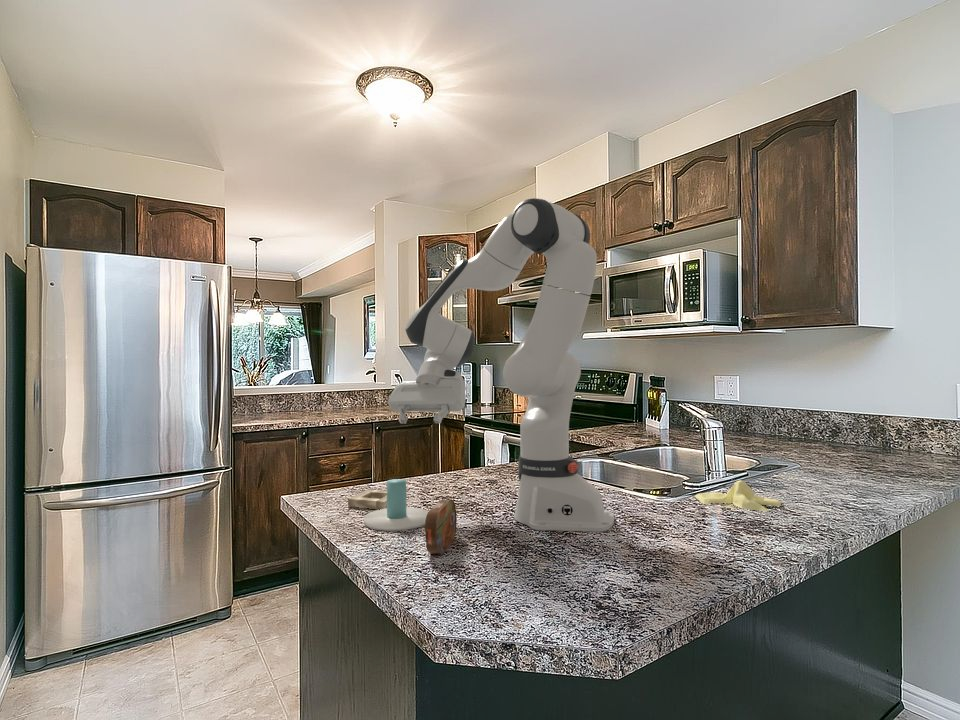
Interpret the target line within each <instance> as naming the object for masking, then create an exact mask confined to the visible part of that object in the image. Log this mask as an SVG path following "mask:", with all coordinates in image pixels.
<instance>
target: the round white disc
mask: <svg viewBox="0 0 960 720" xmlns="http://www.w3.org/2000/svg"><path fill="white" fill-rule="evenodd" d="M428 512H429V510H428V511H427V510H425V509H422V508H419V507H418V508H417V507H408V506H406V513H407V516H406V517H405V518H401V519H390V518H387V508H385V509H380V510H379V509H375V510H373V511H370V512H368V513H367V514H365V515H364V516H363V524H364V526H365V527H366V528H369V529H372V530H377V531H383V532H397V531H398V532H399V531H406V530H407V531H409V530H414V529H418V528H421V527H425V520H426V516H427V513H428Z"/></svg>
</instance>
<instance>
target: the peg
mask: <svg viewBox="0 0 960 720" xmlns="http://www.w3.org/2000/svg"><path fill="white" fill-rule="evenodd" d="M386 491H387V518H390V519H401V518H405V517H406V516H407V513H406V507H407V480H406V479H403V478H394V479H388V480H386Z"/></svg>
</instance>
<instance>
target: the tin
mask: <svg viewBox="0 0 960 720" xmlns="http://www.w3.org/2000/svg"><path fill="white" fill-rule="evenodd" d="M457 516H458V515H457V508H456V504H455V501H454V500H453V498H450V499H440V500H439V501H437V502H436V503H435V504H434V505H433V506H432V507H431V509H429V510H428V513H427V516H426V520H425V525H424V532H425V533H424V534H425V547H426V550H427V552H428V554H432V555H444V554H445V553H446V552H447V550H448V549H449V548H450V546H451V545H452V543H453V542H454V540H455V538H456V534H457V523H458V522H457V521H458V520H457Z"/></svg>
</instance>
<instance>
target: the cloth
mask: <svg viewBox="0 0 960 720" xmlns="http://www.w3.org/2000/svg"><path fill="white" fill-rule="evenodd" d="M726 493H727V494H725V493H721V492H703V493H702V492H701V493H697V494H696V495H694V498H696V499H697V501H699V502H700V504H702V503H703V504H702V505H704V504H711V503H733V504H734V505H736V506H738V507H740V508H744V509H751V510H759V511H770V510H769V509H768V508H767V507H766V506H762V505H771V506H781V507H782V505H781V503H782V502H781V500H779V499H775V498H771V497H763V496H759V495H756V494H755V491H754V490H753V489H752V488H751V486H749V485H748V483H746V482H745V481H744V480H737V481H735V482H734V484H733V485H732V487H730V488H729V490H728V491H727V492H726ZM711 505H712V504H711ZM723 507H727V508H731V509H735V508H736V507H734V506H732V505H724V506H723ZM727 508H726V509H727Z"/></svg>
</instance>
